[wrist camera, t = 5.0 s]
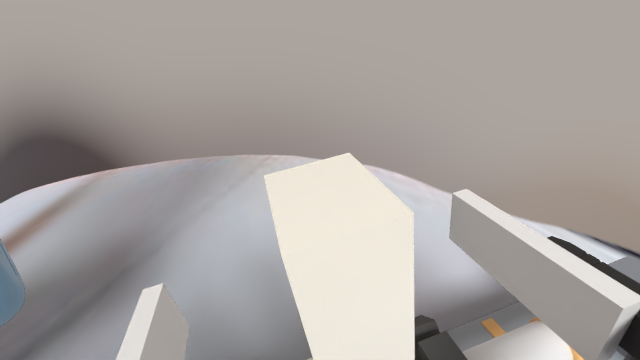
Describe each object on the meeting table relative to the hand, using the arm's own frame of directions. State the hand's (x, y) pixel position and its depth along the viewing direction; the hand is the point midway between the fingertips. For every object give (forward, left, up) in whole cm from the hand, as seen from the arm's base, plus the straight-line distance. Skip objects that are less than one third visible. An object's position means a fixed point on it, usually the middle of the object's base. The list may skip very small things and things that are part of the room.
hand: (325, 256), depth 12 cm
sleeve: (+2, -2, -13) cm, 13 cm away
